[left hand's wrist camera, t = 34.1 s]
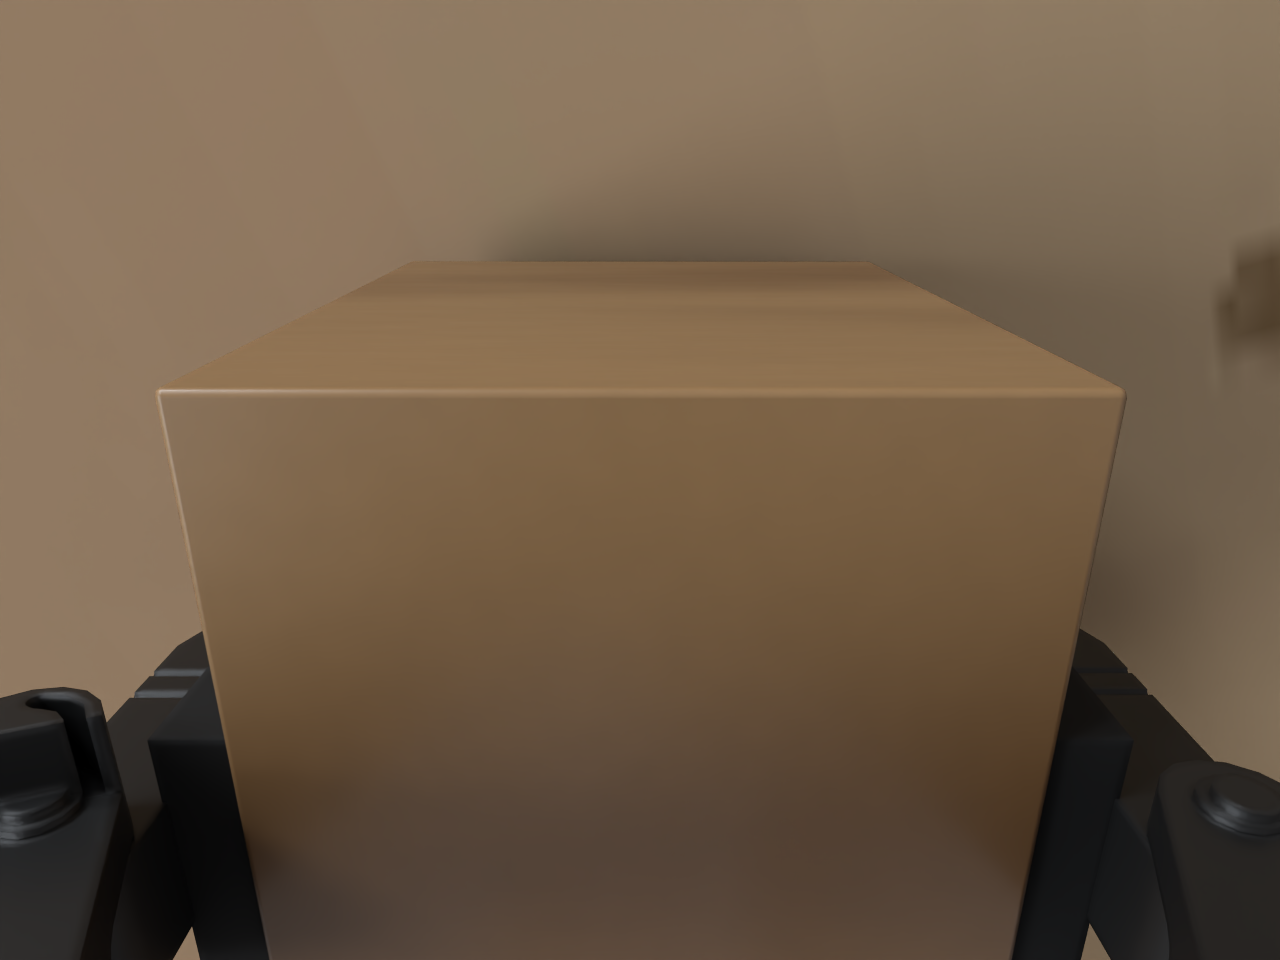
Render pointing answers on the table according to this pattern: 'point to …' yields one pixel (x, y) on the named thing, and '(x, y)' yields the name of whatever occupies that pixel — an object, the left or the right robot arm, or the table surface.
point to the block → (640, 610)
